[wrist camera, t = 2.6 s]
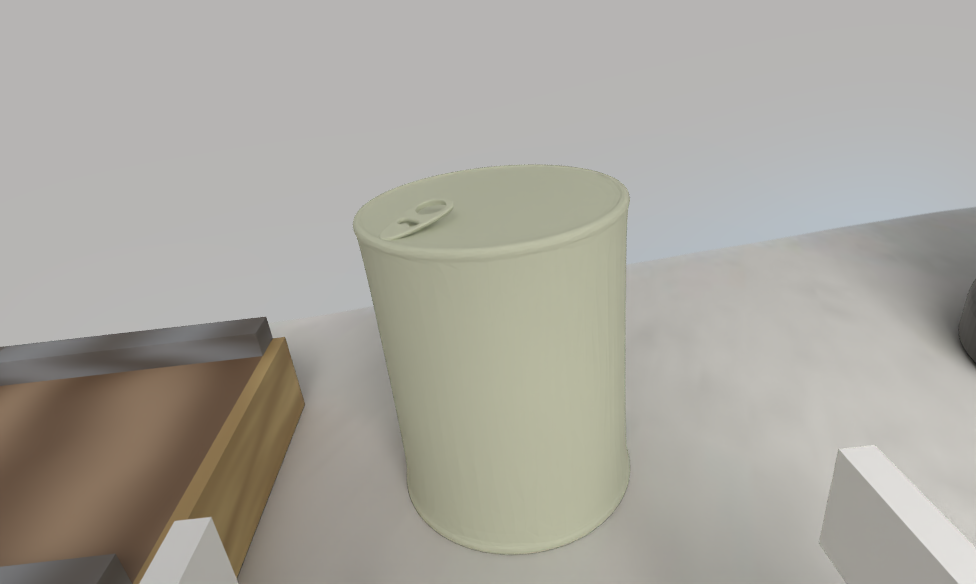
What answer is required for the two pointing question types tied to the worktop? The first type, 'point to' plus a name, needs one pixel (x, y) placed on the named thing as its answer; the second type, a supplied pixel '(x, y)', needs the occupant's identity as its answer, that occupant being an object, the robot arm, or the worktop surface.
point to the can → (505, 348)
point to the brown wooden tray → (138, 446)
